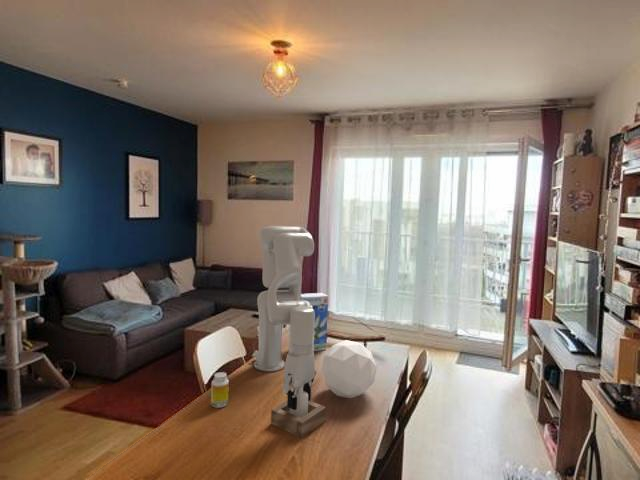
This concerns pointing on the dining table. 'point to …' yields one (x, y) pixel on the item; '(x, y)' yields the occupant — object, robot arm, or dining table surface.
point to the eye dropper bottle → (301, 403)
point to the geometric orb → (348, 369)
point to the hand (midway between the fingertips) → (299, 403)
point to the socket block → (298, 418)
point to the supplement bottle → (220, 390)
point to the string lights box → (318, 317)
